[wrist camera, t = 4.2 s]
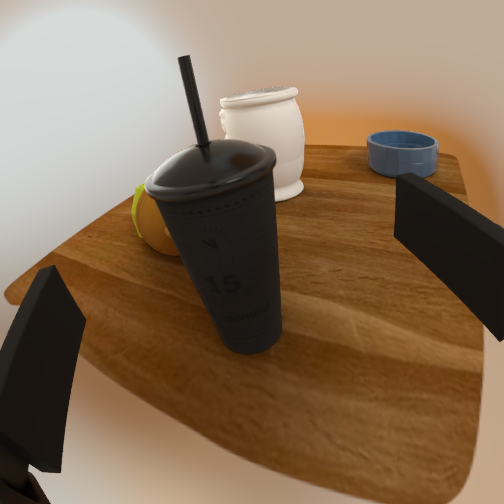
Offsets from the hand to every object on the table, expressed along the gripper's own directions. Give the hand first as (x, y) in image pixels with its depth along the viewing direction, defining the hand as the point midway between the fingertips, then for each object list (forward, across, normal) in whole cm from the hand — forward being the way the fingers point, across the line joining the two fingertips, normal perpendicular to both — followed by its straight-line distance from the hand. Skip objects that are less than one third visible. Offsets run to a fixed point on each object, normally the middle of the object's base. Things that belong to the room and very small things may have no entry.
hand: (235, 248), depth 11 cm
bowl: (+32, +32, -13) cm, 47 cm away
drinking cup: (+8, 0, -13) cm, 15 cm away
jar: (+34, +9, -13) cm, 37 cm away
